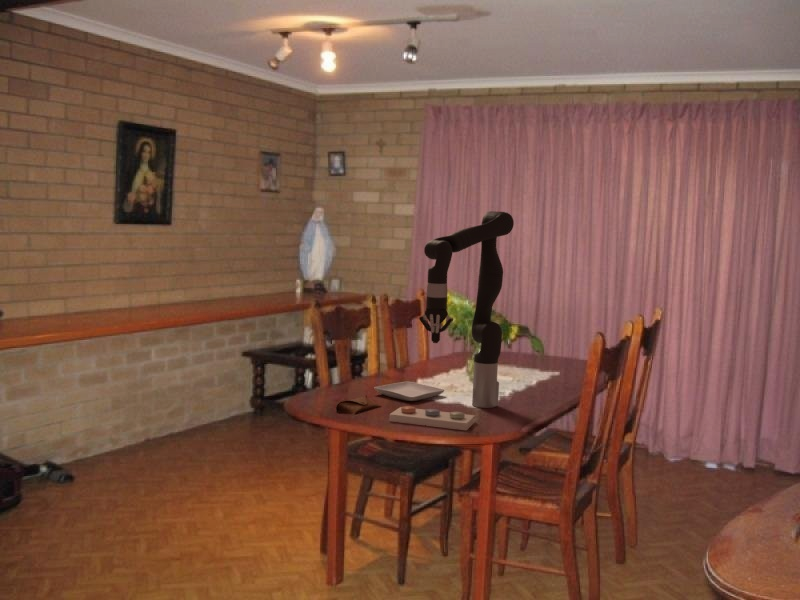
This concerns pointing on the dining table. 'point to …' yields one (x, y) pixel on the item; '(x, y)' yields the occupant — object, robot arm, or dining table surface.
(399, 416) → the button panel
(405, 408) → the terracotta button
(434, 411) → the slate button
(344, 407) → the sunglasses case
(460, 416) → the sage button
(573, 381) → the dining table surface
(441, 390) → the salad plate
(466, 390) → the dining table surface
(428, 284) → the robot arm
